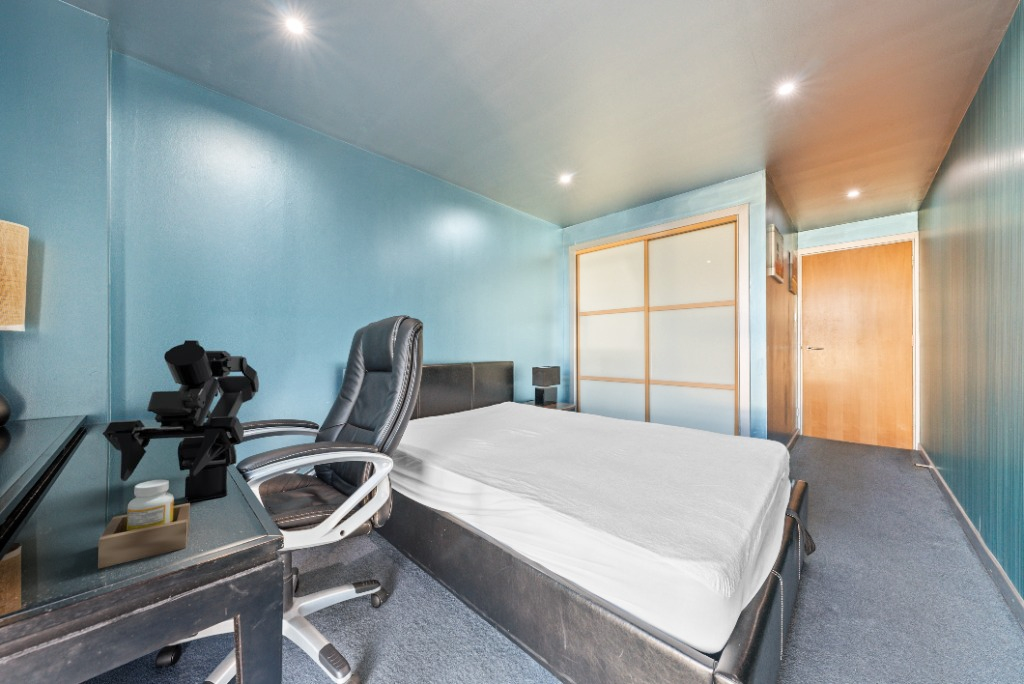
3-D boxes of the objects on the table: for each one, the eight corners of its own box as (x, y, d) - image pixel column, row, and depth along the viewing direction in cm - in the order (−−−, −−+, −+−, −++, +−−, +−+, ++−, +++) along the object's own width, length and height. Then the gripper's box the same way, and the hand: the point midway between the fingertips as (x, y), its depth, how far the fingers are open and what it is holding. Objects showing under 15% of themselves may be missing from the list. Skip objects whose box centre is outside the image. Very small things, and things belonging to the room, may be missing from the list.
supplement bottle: (150, 553, 57) (152, 489, 58) (115, 553, 57) (117, 489, 58) (181, 536, 63) (183, 478, 63) (149, 536, 63) (151, 477, 63)
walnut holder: (189, 525, 66) (190, 502, 67) (185, 547, 59) (186, 521, 59) (112, 542, 61) (113, 516, 61) (97, 568, 53) (98, 539, 53)
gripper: (111, 374, 65) (55, 456, 54) (239, 372, 71) (211, 447, 60) (139, 412, 72) (94, 491, 61) (253, 408, 78) (230, 480, 67)
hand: (158, 477), depth 62 cm, fingers open, 9 cm apart
